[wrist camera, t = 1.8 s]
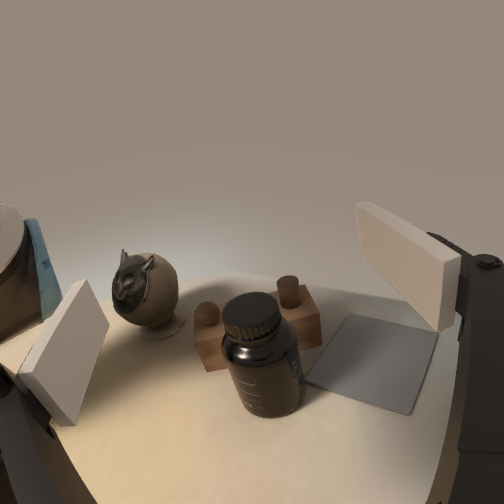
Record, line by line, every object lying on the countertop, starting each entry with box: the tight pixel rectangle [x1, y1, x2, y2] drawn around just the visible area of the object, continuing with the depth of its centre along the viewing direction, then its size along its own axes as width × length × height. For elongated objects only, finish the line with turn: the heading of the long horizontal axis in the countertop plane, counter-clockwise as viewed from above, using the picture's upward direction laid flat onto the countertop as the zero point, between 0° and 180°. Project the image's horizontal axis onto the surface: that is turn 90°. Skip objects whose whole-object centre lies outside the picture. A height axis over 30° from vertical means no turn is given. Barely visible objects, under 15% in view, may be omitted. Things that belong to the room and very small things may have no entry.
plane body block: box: [194, 276, 322, 372], centre depth 37 cm, size 14×6×8 cm, turn 98°
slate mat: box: [304, 313, 438, 416], centre depth 33 cm, size 12×12×1 cm
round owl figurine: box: [112, 249, 185, 340], centre depth 44 cm, size 10×12×10 cm
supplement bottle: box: [221, 292, 305, 418], centre depth 29 cm, size 7×7×12 cm
